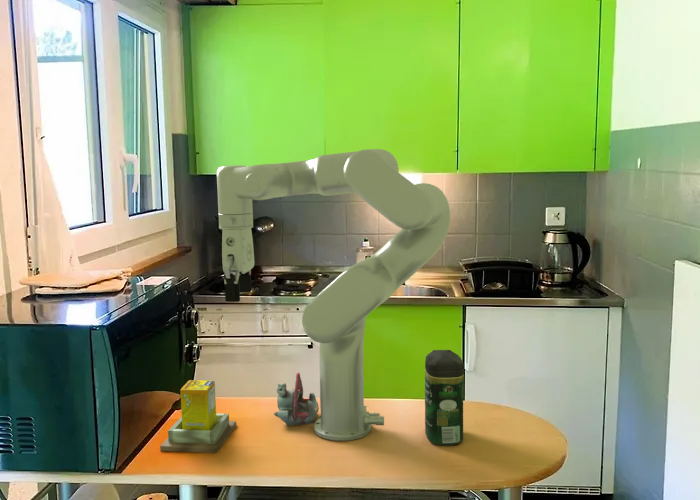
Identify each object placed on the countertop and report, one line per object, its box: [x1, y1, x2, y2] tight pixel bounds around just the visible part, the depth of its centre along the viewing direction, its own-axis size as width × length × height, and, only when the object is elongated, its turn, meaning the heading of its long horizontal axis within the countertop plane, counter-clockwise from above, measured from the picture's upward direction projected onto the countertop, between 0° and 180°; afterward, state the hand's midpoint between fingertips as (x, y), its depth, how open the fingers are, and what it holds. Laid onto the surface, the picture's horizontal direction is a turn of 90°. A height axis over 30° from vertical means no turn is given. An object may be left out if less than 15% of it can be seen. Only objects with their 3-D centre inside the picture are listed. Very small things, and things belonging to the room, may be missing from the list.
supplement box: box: [179, 379, 217, 430], centre depth 146 cm, size 6×6×11 cm
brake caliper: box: [273, 372, 320, 427], centre depth 156 cm, size 11×11×12 cm
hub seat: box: [159, 412, 237, 454], centre depth 147 cm, size 12×14×4 cm
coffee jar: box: [424, 349, 465, 447], centre depth 144 cm, size 10×8×19 cm
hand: (238, 296), depth 155 cm, fingers open, 9 cm apart
